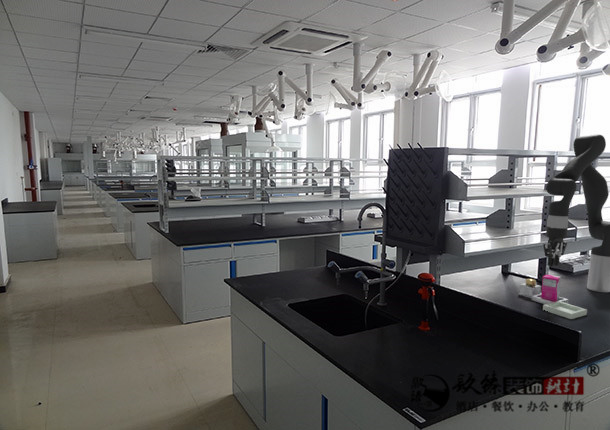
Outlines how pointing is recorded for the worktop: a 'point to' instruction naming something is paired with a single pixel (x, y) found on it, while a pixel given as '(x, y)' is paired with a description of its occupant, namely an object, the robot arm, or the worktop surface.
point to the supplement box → (551, 287)
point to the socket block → (536, 294)
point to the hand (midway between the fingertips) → (553, 265)
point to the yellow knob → (531, 282)
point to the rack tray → (565, 309)
